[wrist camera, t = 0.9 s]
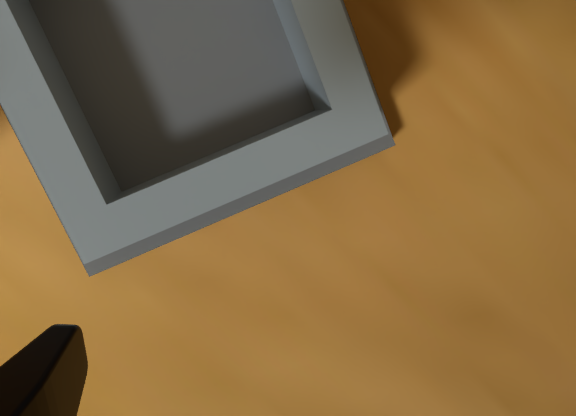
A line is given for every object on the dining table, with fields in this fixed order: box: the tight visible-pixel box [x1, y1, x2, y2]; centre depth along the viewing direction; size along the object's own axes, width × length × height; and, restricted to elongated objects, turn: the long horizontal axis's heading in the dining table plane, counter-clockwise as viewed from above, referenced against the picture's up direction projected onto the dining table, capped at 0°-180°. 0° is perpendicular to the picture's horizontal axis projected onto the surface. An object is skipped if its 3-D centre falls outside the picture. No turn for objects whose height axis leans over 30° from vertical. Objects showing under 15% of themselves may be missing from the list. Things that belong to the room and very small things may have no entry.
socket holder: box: [0, 0, 395, 277], centre depth 19 cm, size 13×13×4 cm
